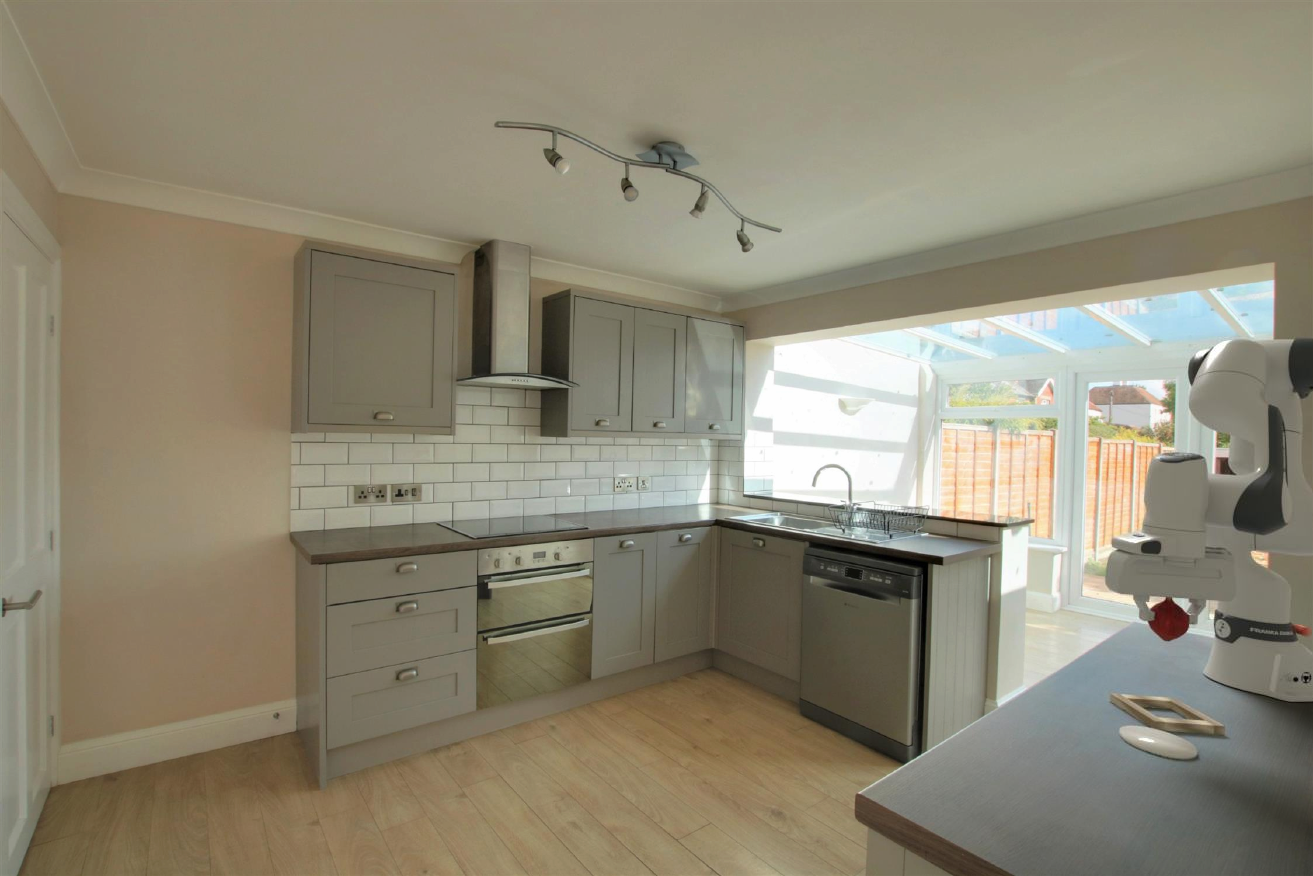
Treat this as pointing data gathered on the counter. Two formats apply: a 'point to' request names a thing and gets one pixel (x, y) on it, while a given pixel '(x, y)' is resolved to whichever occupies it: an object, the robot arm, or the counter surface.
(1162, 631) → the onion
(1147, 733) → the white domed disc
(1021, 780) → the counter surface
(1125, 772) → the counter surface
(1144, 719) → the frame
